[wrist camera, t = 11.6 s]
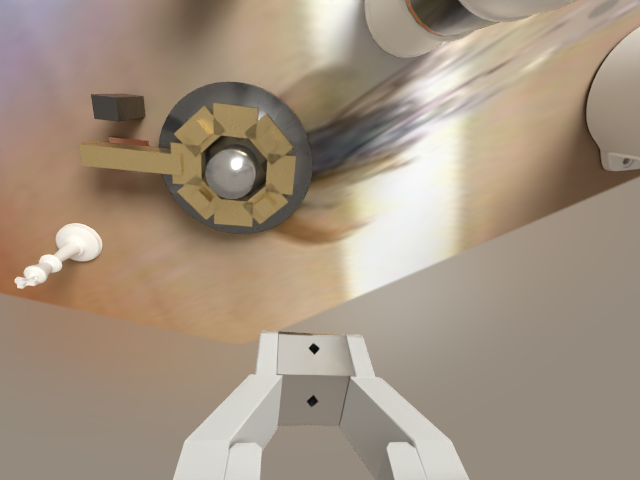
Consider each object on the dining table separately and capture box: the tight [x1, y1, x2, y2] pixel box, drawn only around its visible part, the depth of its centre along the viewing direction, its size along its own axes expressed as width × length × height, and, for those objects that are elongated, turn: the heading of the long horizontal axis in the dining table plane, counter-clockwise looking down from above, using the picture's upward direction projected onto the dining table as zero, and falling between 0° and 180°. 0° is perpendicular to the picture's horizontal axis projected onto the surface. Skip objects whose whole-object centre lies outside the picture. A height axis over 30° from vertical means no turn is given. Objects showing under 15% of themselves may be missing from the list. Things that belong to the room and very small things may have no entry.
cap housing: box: [91, 82, 312, 234], centre depth 33 cm, size 22×16×8 cm
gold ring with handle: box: [79, 102, 296, 227], centre depth 33 cm, size 20×12×3 cm, turn 83°
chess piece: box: [15, 223, 102, 289], centre depth 35 cm, size 5×5×10 cm
